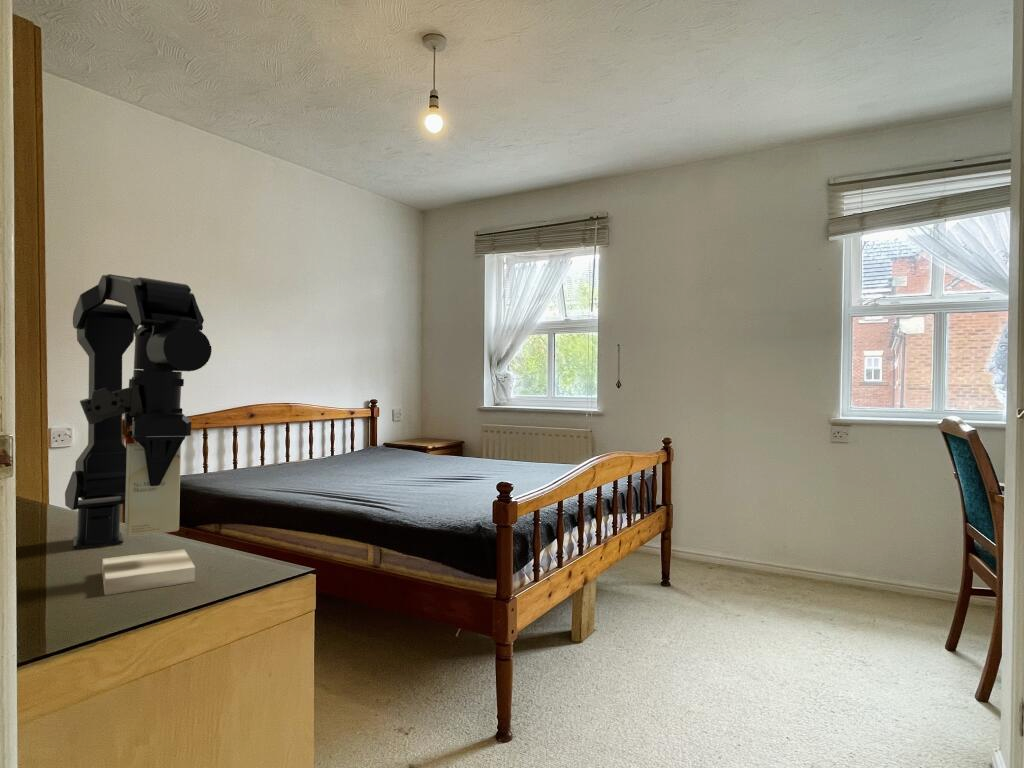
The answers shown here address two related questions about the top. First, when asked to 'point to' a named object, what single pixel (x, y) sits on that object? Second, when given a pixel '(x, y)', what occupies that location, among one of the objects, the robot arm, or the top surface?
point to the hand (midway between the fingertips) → (152, 483)
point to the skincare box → (150, 496)
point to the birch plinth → (146, 571)
